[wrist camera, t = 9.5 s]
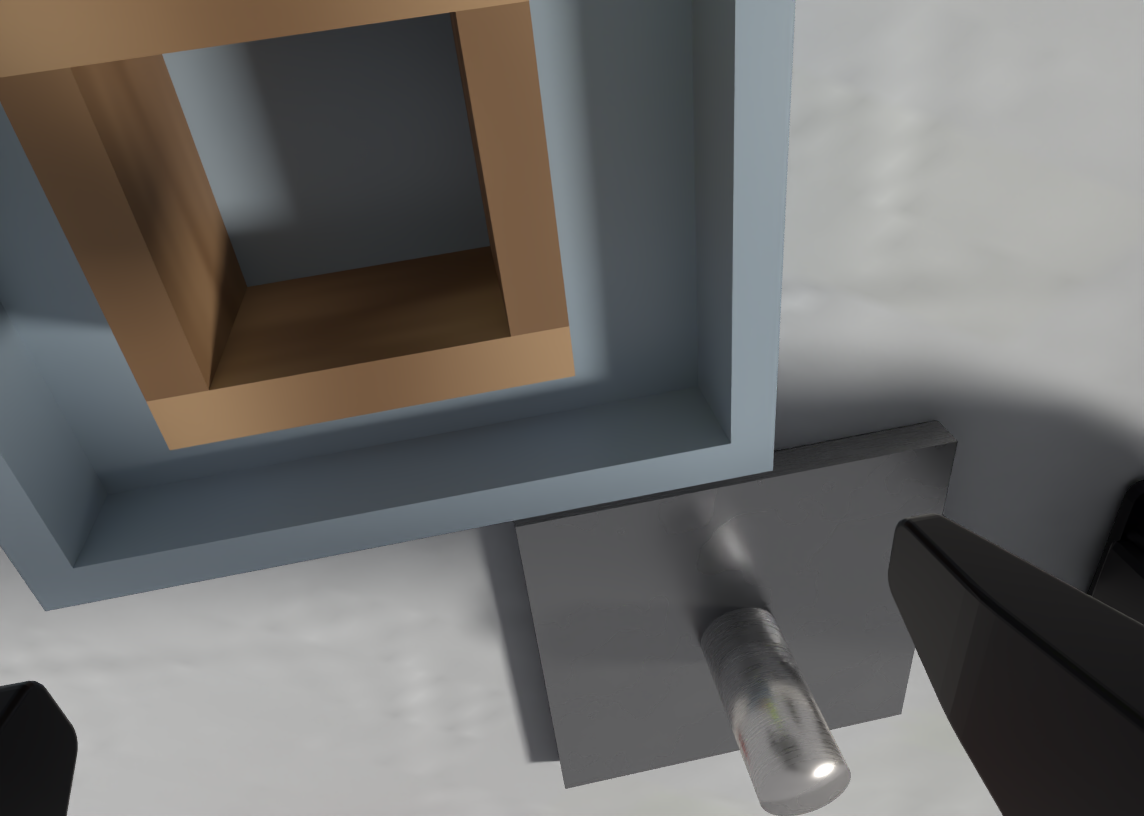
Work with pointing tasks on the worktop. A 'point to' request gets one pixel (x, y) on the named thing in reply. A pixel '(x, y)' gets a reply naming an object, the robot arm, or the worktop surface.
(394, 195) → the light blue frame
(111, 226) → the open wooden box frame
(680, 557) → the stake base
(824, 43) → the worktop surface
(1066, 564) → the worktop surface
